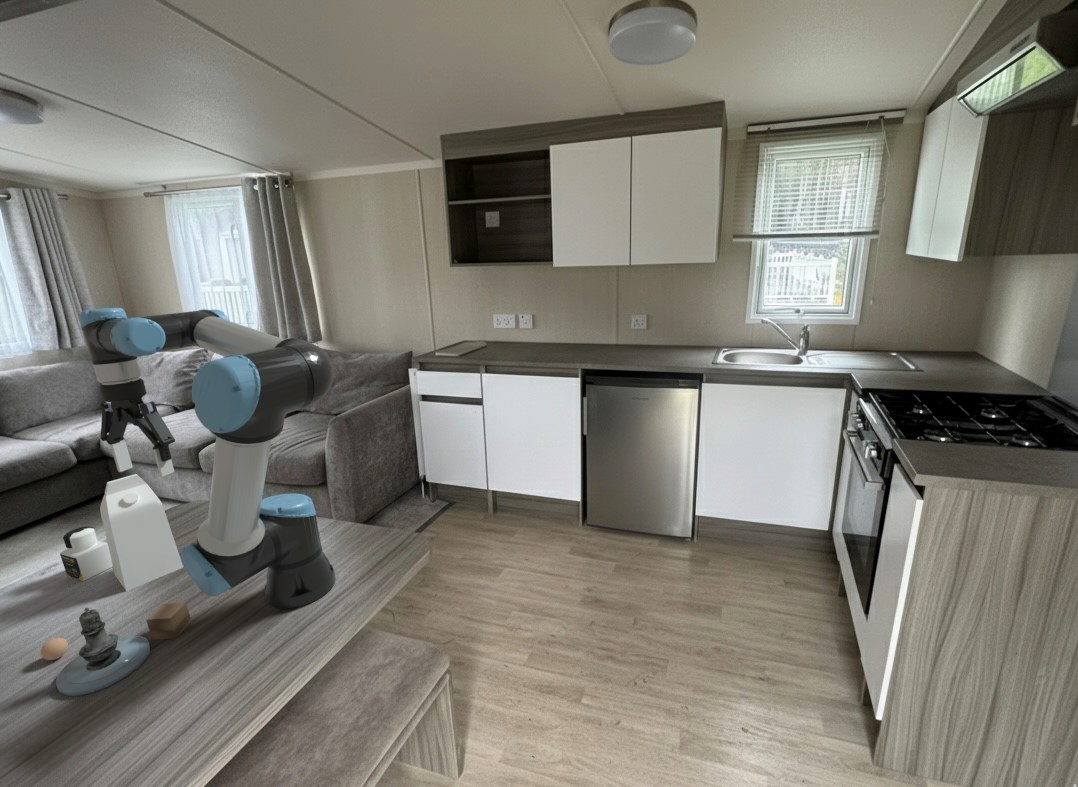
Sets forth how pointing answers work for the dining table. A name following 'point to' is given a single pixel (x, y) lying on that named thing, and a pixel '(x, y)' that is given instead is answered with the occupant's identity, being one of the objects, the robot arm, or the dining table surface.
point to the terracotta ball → (54, 648)
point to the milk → (137, 532)
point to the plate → (84, 682)
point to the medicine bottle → (84, 554)
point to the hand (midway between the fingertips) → (146, 472)
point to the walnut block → (168, 621)
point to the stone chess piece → (97, 642)
